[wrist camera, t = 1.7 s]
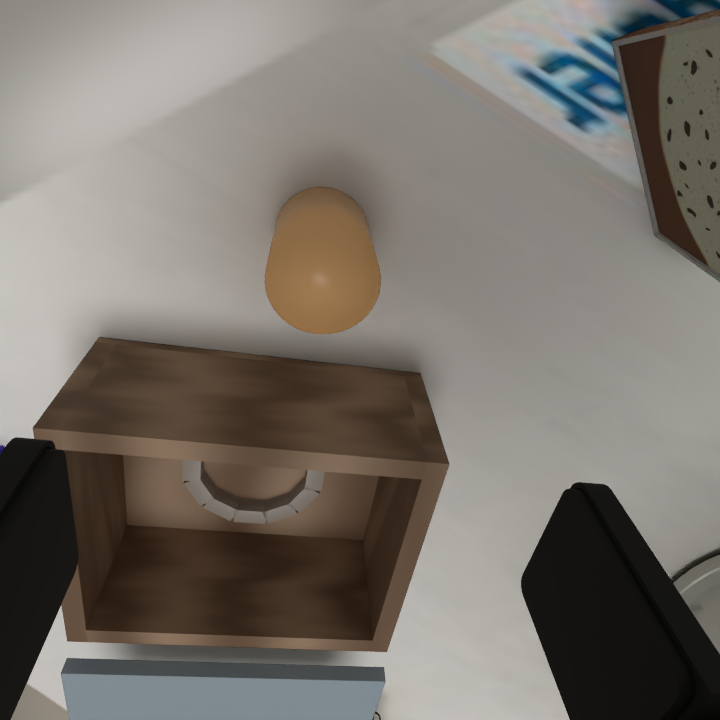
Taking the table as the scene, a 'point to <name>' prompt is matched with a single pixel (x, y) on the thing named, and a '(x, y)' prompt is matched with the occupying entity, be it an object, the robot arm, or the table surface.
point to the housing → (242, 497)
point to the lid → (218, 690)
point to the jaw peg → (322, 263)
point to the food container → (677, 129)
